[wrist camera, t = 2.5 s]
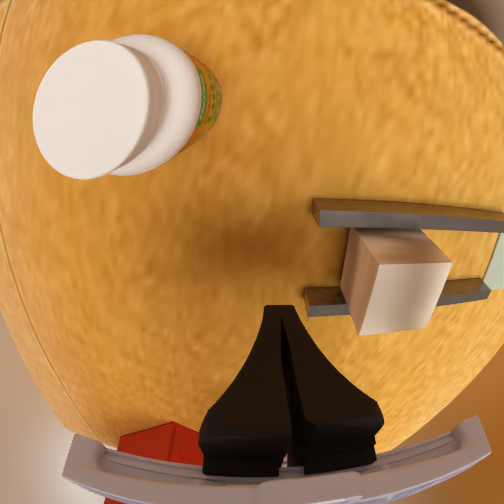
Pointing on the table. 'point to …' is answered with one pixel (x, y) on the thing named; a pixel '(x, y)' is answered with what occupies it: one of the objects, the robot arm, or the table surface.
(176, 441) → the file binder
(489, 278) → the pad
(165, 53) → the supplement bottle
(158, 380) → the table surface
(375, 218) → the parallel grey rails
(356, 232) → the block
